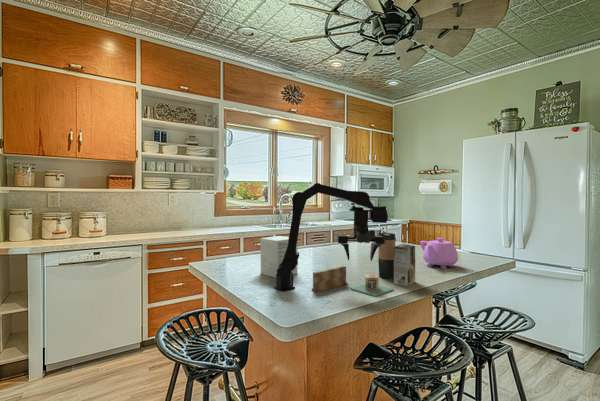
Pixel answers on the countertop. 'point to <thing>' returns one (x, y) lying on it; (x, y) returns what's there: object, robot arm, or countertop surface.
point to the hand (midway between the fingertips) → (359, 260)
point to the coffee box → (404, 264)
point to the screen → (329, 278)
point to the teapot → (439, 253)
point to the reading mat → (371, 292)
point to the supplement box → (273, 254)
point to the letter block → (372, 282)
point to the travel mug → (386, 256)
